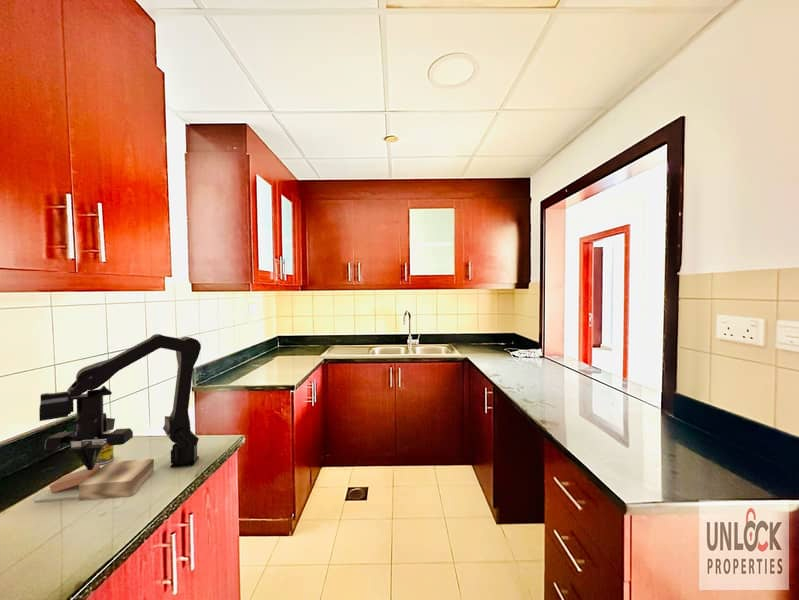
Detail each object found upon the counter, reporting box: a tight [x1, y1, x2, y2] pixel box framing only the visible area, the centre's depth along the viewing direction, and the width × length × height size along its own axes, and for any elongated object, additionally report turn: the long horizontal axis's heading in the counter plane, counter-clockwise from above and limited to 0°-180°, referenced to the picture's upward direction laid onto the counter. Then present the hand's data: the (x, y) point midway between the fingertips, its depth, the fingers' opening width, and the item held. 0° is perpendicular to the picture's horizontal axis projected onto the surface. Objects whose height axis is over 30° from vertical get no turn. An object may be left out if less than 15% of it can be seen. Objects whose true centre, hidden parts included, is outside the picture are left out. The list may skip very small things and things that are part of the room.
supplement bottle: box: [95, 430, 115, 466], centre depth 123 cm, size 6×6×10 cm
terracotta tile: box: [49, 464, 101, 493], centre depth 106 cm, size 9×6×2 cm, turn 101°
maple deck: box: [78, 458, 155, 501], centre depth 108 cm, size 12×14×4 cm
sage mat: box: [34, 484, 80, 503], centre depth 106 cm, size 10×12×1 cm
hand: (90, 469), depth 106 cm, fingers closed
